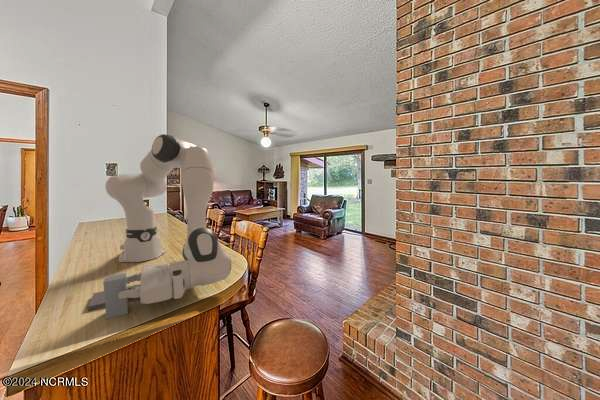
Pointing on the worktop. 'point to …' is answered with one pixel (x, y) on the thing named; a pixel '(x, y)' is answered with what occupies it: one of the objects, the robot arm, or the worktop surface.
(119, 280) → the grey rectangular block
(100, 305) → the power strip
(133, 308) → the worktop surface
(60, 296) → the worktop surface
